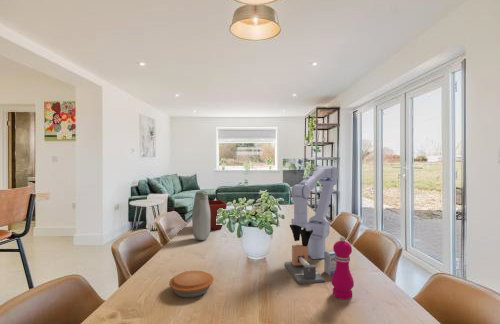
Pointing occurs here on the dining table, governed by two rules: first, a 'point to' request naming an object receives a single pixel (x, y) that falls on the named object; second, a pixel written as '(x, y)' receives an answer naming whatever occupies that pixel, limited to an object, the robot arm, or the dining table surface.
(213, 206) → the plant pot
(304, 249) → the collar
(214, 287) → the dining table surface
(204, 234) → the grey vase
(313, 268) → the pipe stand
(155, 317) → the dining table surface
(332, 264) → the medicine box
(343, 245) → the pepper mill
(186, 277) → the pie
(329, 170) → the robot arm
